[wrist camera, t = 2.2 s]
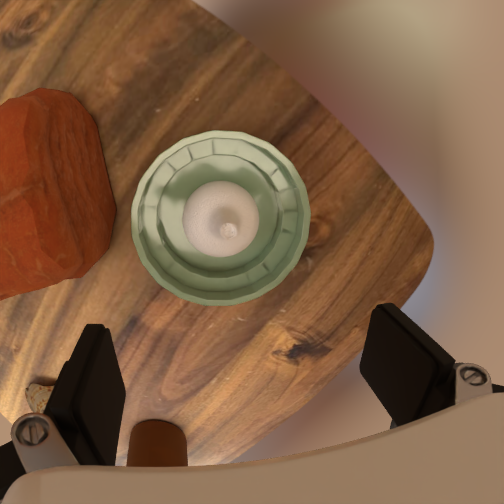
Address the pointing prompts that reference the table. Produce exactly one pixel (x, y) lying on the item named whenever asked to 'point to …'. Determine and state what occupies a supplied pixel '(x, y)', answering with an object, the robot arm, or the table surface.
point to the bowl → (220, 169)
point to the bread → (50, 192)
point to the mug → (157, 446)
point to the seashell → (38, 396)
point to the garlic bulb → (220, 219)
